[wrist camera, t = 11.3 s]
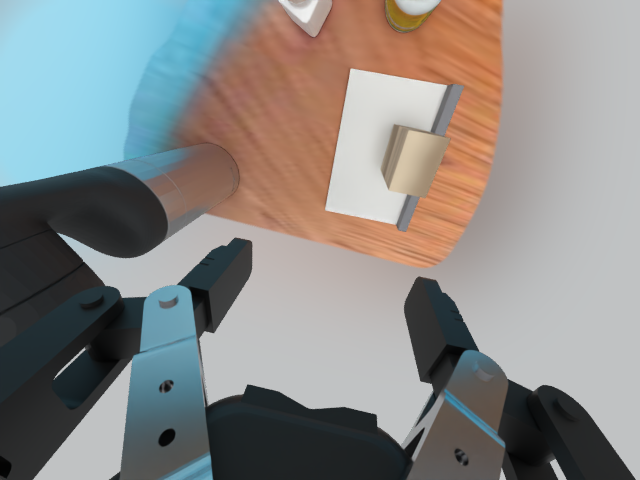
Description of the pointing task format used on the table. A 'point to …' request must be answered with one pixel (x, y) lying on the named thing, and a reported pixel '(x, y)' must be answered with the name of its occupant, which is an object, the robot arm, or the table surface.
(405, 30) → the supplement bottle
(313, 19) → the pepper shaker
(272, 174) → the table surface
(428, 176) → the tea box
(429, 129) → the shelf
